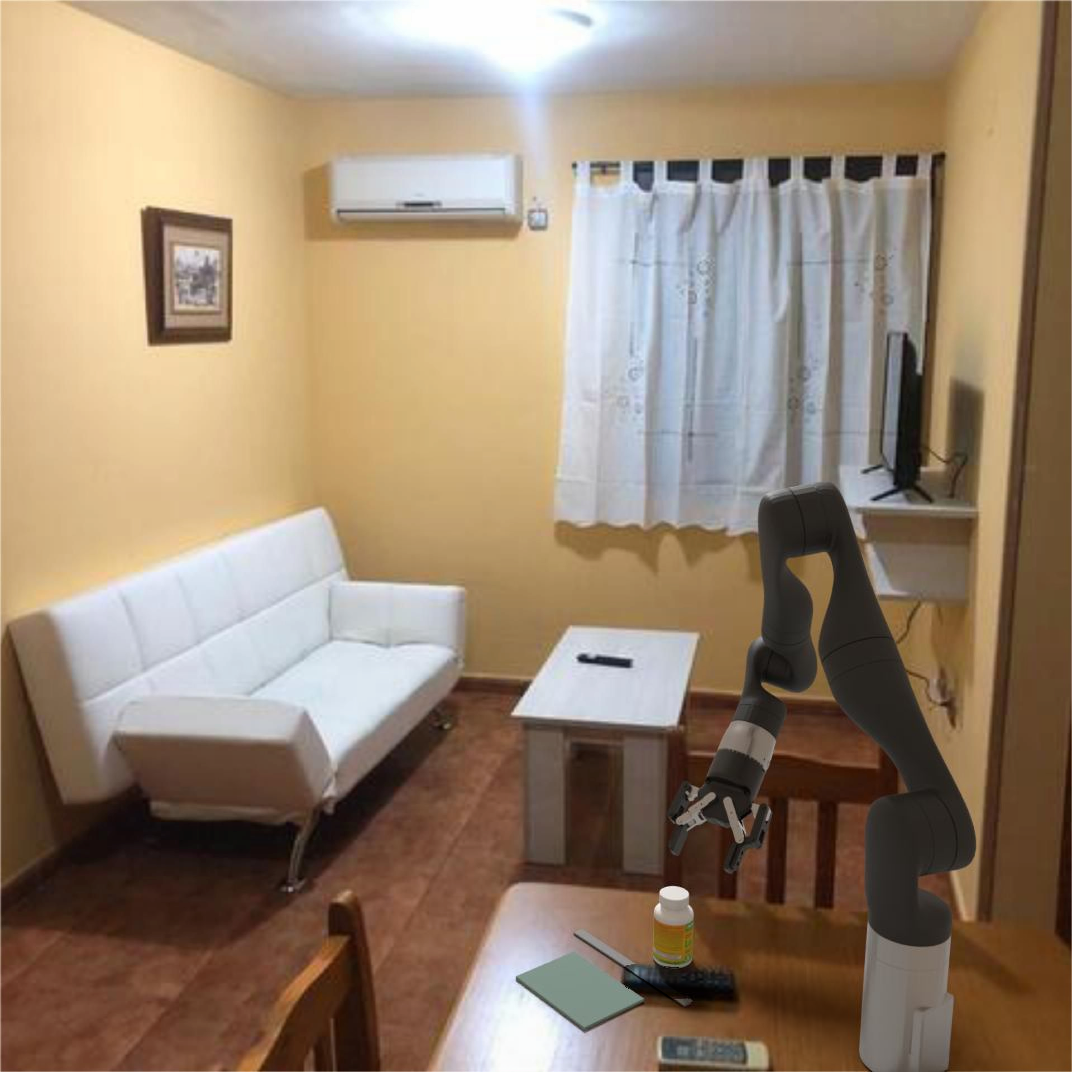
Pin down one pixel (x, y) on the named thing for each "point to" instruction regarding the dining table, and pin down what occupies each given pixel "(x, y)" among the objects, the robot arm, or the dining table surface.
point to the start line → (613, 955)
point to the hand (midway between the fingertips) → (700, 862)
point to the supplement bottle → (673, 928)
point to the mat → (579, 990)
